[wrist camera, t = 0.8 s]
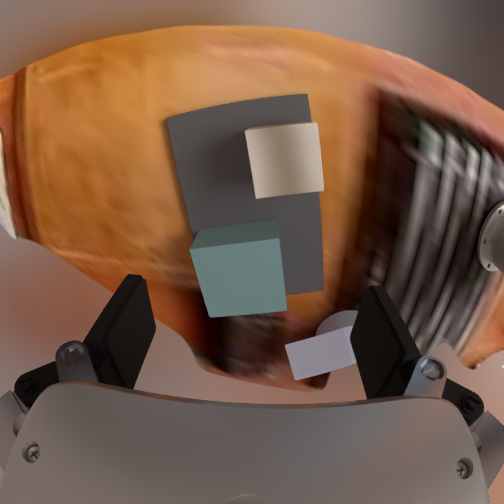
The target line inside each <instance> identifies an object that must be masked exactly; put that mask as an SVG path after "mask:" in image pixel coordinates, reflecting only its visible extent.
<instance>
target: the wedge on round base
mask: <svg viewBox="0 0 504 504" xmlns="http://www.w3.org/2000/svg"><path fill="white" fill-rule="evenodd" d="M357 313H358V311H355V310H347V311H342V312H338V313H335V314H333V315H331V316H330V317H328V318H327V319H325V320H324V321H323V322H322V323H321V324H320V326H319V327H318V329H317V331H316V336H315V337H311V338H308V339H304V340H301V341H297V342H293V343H290V344H286V345H285V348H286V351H287V355H288V358H289V362H290V365H291V369H292V372H293V375H294V379H295V380H299V379H303V378H307V377H311V376H315V375H319V374H323V373H326V372H330V371H333V370H337V369H340V368H343V367H347V366H349V365H353V364H354V363H357V362H356V359H355V355H354V352H353V349H352V346H351V343H350V334H351V331H352V328H353V325H354V322H355V319H356V316H357Z"/></svg>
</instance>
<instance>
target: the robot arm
mask: <svg viewBox="0 0 504 504" xmlns="http://www.w3.org/2000/svg"><path fill="white" fill-rule="evenodd" d="M477 254H478V259H479V262H480V264H481V265H482V266H483V267H484V268H485V269H486V270H488V271H497V270H500V271H501V272H502V273H503V274H504V201H501V202H500V203H498V204H497V205H496V206H495V207H494V208H493V209H492V210H491V211H490V213H489V214H488V216H487V218H486V219H485V221H484V224H483V226H482V228H481V231H480V235H479V239H478V246H477ZM155 331H156V325H155V321H154V316H153V312H152V308H151V303H150V299H149V294H148V289H147V284H146V280H145V279H142V276H141V275H134V274H128V275H127V276H126V277H125V279H124V280H123V282H122V283H121V284H120V286H119V287H118V289H117V290H116V292H115V293H114V295H113V296H112V298H111V299H110V301H109V302H108V303H107V305H106V307H105V308H104V309H103V311H102V312H101V314H100V316H99V317H98V319H97V320H96V322H95V323H94V325H93V326H92V328H91V330H90V331H89V333H88V335H87V336H86V338H85V339H84V341H83V342H80V341H75V340H73V341H69V342H66V343H64V344H63V345H61V346H60V347H59V349H58V350H57V352H56V355H55V360H56V361H54V362H51V363H49V364H46V365H44V366H41V367H39V368H37V369H34V370H32V371H29V372H27V373H25V374H23V375H21V376H20V377H19V378H18V379H17V381H16V383H15V386H14V389H15V390H14V391H13V392H12V391H11V390H10V391H8V392H7V393H6V394H4V395H3V396H2V397H1V398H0V465H1V467H2V469H3V470H4V474H3V478H2V482H1V486H0V504H490V500H489V494H488V488H489V487H490V485H491V484H492V482H493V481H494V479H495V477H496V476H497V474H498V472H499V471H500V469H501V467H502V465H503V464H504V426H503V425H502V424H501V423H500V422H499V421H498V420H497V419H496V418H495V417H494V416H493V415H492V414H491V413H489V411H486V412H484V404H483V401H482V399H481V398H480V397H479V395H477V394H476V393H474V392H472V391H470V390H469V389H467V388H465V387H463V386H461V385H459V384H457V383H455V382H453V381H452V380H450V379H448V378H447V369H446V367H445V365H444V363H443V362H442V361H441V360H439V359H437V358H436V357H433V356H424V357H421V355H420V353H419V350H418V348H417V346H416V344H415V342H414V340H413V338H412V336H411V334H410V332H409V331H408V329H407V327H406V325H405V323H404V321H403V320H402V318H401V316H400V314H399V312H398V311H397V309H396V307H395V305H394V303H393V302H392V300H391V298H390V297H389V295H388V293H387V291H386V290H385V288H384V287H383V286H369V288H368V289H366V290H365V291H364V294H363V298H362V301H361V304H360V307H359V310H358V313H357V316H356V319H355V322H354V325H353V328H352V331H351V334H350V343H351V346H352V349H353V352H354V355H355V359H356V362H357V365H358V369H359V372H360V376H361V379H362V382H363V386H364V389H365V393H366V397H367V400H357V401H347V402H334V403H317V404H248V403H231V402H218V401H207V400H198V399H189V398H181V397H175V396H168V395H161V394H156V393H150V392H144V391H139V390H134V389H133V388H134V385H135V383H136V380H137V378H138V375H139V372H140V370H141V367H142V364H143V362H144V359H145V357H146V354H147V352H148V349H149V347H150V344H151V342H152V339H153V337H154V334H155Z"/></svg>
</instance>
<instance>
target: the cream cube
mask: <svg viewBox="0 0 504 504" xmlns="http://www.w3.org/2000/svg"><path fill="white" fill-rule="evenodd" d="M245 135H246V141H247V147H248V153H249V159H250V165H251V171H252V177H253V183H254V190H255V196H256V199H258V198H265V197H273V196H282V195H290V194H299V193H308V192H317V191H324V183H323V171H322V160H321V151H320V141H319V133H318V125H317V123H315V122H297V123H287V124H278V125H269V126H262V127H255V128H249V129H247V130H245Z"/></svg>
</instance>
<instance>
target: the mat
mask: <svg viewBox="0 0 504 504" xmlns="http://www.w3.org/2000/svg"><path fill="white" fill-rule="evenodd" d="M166 120H167V126H168V131H169V136H170V140H171V145H172V150H173V155H174V159H175V164H176V168H177V173H178V177H179V182H180V186H181V190H182V194H183V199H184V203H185V207H186V211H187V215H188V219H189V223H190V227H191V231H192V234H193V238H194V240H195V238H196V236H197V234H198V232H199V230H202V229H209V228H217V227H224V226H231V225H239V224H246V223H254V222H262V221H270V220H277V225H278V233H279V241H280V249H281V258H282V266H283V275H284V284H285V294H286V295H289V294H297V293H306V292H314V291H322V290H323V254H322V232H321V215H320V201H319V191H317V192H308V193H299V194H290V195H282V196H273V197H265V198H258V199H256V196H255V190H254V183H253V177H252V171H251V165H250V159H249V153H248V147H247V141H246V135H245V130H247V129H249V128H255V127H262V126H269V125H278V124H287V123H297V122H311V115H310V108H309V101H308V95H307V94H300V95H288V96H279V97H270V98H262V99H255V100H248V101H242V102H236V103H230V104H224V105H219V106H214V107H209V108H205V109H200V110H196V111H191V112H187V113H183V114H179V115H175V116H171V117H168V118H166Z"/></svg>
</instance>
